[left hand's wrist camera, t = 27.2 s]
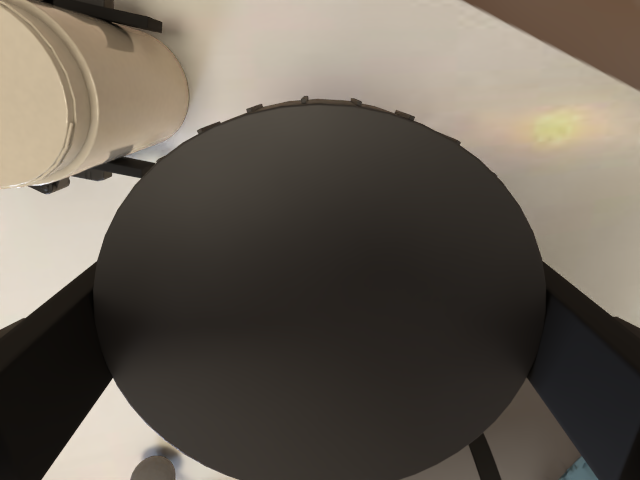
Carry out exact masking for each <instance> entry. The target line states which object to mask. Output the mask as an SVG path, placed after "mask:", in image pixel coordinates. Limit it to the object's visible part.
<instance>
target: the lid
mask: <svg viewBox="0 0 640 480" xmlns="http://www.w3.org/2000/svg"><path fill="white" fill-rule="evenodd" d="M246 110H247V113H245V114H242V115H240V116H237V117H234V118H232V119H229V120H227V121H224V122H222V123H220V121H219V122H217V123H214V124H211V125H209V126H206V127H204V128H201V129H199V130H197V132H198V135H196V136H194V137H192V138H190V139H189V140H187V141H185V142H183V143H182V144H180V145H179V146H178V147H177V148H175V149H174V150H173V151H171V152H170V153H169V154H167V155H166V156H164V157H162V158H159V159H158V160H157V161H156V162H157V163H156V164H155V165H154V166H153V167H152V168H151V169H150V170H149V171H148V172H147V173H146V174H145V175H144V176H143V177H142V178H141V179H140V180H139V181H138V182H137V183H136V185H135V186H134V187H133V189H132V190H131V191H130V193H129V194H128V196H127V197H126V198H125V200H124V201H123V203H122V204H121V206H120V207H119V208H118V210H117V212H116V214H115V216H114V218H113V220H112V222H111V224H110V226H109V228H108V230H107V232H106V234H105V237H104V240H103V244H102V247H101V250H100V254H99V257H98V260H97V265H96V272H95V280H94V287H93V302H94V319H95V325H96V329H97V334H98V338H99V342H100V346H101V350H102V353H103V356H104V359H105V362H106V364H107V366H108V368H109V370H110V372H111V374H112V376H113V378H114V380H115V382H116V384H117V386H118V388H119V389H120V391H121V392H122V394H123V395H124V397H125V398H126V399H127V401H128V402H129V404H130V405H131V407H132V408H133V409H134V410H135V411H136V412H137V413H138V415H139V416H140V417H141V418H142V419H143V420H144V421H145V423H146V424H147V425H148V426H150V427H151V428H152V429H153V430H154V431H155V432H156V433H157V434H158V435H160V436H161V437H162V438H163V439H164V440H165V441H167V442H168V443H169V444H171V445H172V446H174V447H175V448H176V449H178V450H179V451H181V452H182V453H183V454H185V455H187V456H188V457H190V458H192V459H194V460H195V461H197V462H199V463H201V464H202V465H204V466H206V467H209V468H211V469H213V470H215V471H218V472H220V473H222V474H224V475H227V476H230V477H233V478H236V479H239V480H401V479H404V478H406V477H409V476H412V475H415V474H417V473H420V472H422V471H424V470H426V469H428V468H431V467H433V466H435V465H437V464H439V463H441V462H442V461H444V460H446V459H447V458H449V457H451V456H452V455H454V454H456V453H458V452H459V451H460V450H462V449H463V448H464V447H466V446H467V445H468V444H470V443H471V442H473V441H474V440H475V439H477V438H478V437H479V436H480V435H481V434H482V433H483V432H484V431H485V430H486V429H488V428H489V427H490V426H491V425H492V424H493V423H494V422H495V421H496V420H497V419H498V417H499V416H500V415H501V414H502V413H503V412H504V410H505V409H506V408H507V407H508V406H509V404H510V403H511V402H512V400H513V399H514V397H515V396H516V394H517V393H518V391H519V390H520V388H521V386H522V385H523V383H524V382H525V380H526V377H527V375H528V373H529V371H530V369H531V367H532V365H533V363H534V361H535V358H536V354H537V351H538V347H539V344H540V340H541V336H542V331H543V327H544V321H545V315H546V282H545V276H544V269H543V263H542V258H541V254H540V251H539V248H538V245H537V242H536V239H535V236H534V233H533V231H532V229H531V227H530V225H529V223H528V221H527V219H526V217H525V215H524V213H523V211H522V209H521V207H520V206H519V204H518V203H517V202H516V200H515V199H514V198H513V196H512V195H511V193H510V192H509V191H508V189H507V188H506V187H505V185H504V184H503V183H502V181H501V180H500V179H499V178H498V177H497V175H496V174H495V173H493V172H492V171H491V170H489V169H488V168H487V167H486V166H485V165H484V164H483V163H482V162H481V161H480V160H479V159H478V158H477V157H475V156H474V155H473V154H471V153H470V152H468V151H467V150H466V149H464V148H463V147H462V146H460V143H461V142H459V141H458V140H456V139H453V138H451V137H449V136H446V135H444V134H441V133H439V132H436V131H434V130H433V129H431V128H429V127H427V126H425V125H423V124H421V123H418V122H416V121H413V120H414V118H415V117H414V116H411V115H409V114H406V113H403V112H400V111H397V110H396V111H395V113H392V112H389V111H386V110H383V109H381V108H378V107H375V106H370V105H365V104H362V102H361V101H359V100H357V99H354V98H351V102H350V101H343V100H326V99H312V100H308V96H304V97H303V98H302V99H301V100H299V101H288V102H284V103H279V104H275V105H270V106H265V107H263V106H262V104H260V105H257V106H254V107H251V108H248V109H246Z"/></svg>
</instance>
